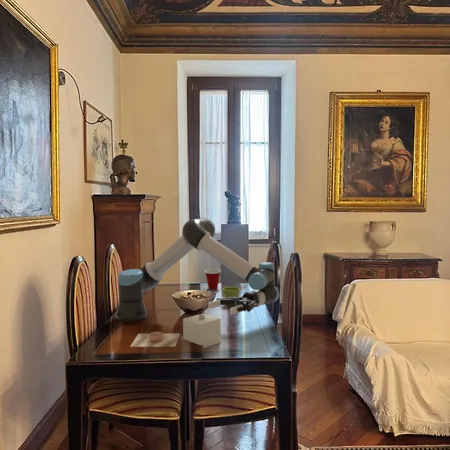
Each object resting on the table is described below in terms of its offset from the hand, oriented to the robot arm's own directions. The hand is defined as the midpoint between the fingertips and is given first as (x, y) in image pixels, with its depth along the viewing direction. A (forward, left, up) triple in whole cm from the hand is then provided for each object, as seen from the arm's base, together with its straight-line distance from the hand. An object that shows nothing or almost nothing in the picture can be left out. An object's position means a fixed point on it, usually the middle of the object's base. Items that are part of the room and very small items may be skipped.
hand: (219, 308), depth 189 cm
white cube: (-7, -6, -13) cm, 16 cm away
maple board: (-26, -7, -13) cm, 30 cm away
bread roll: (-15, +45, -13) cm, 49 cm away
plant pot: (+5, +56, -13) cm, 57 cm away
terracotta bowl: (-26, -7, -11) cm, 29 cm away
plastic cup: (-7, +95, -13) cm, 96 cm away
